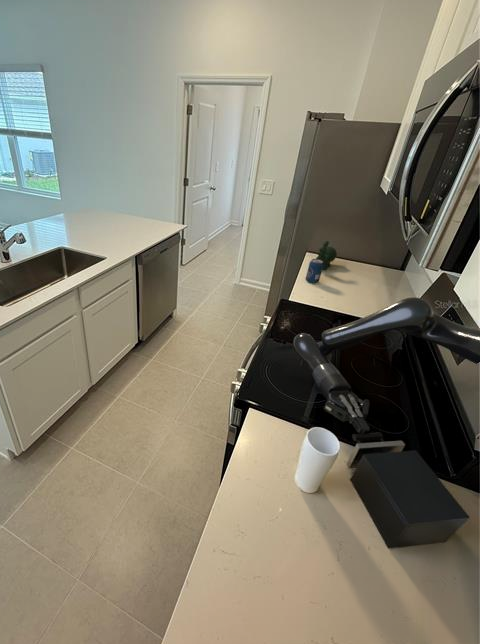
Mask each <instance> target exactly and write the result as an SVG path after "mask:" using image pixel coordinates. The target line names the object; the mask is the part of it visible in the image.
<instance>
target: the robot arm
mask: <svg viewBox="0 0 480 644" xmlns="http://www.w3.org/2000/svg"><path fill="white" fill-rule="evenodd" d="M479 329H480V328H477V327H472V326H466V325H462V324H459V323H456V322H454V321H453V320H450V319H448V318H446V317H444V316H441V315H439V314H437V313H436V312H434V311H433V308H432V306H431V305H430V303H429V302H428V301H426V300H425V299H423V298H421V297H415V296H414V297H413V296H411V297H406V298H403V299H401V300H399V301H396V302H394V303H392V304H390V305H388V306H387V307H384V308H381V309H380V310H378V311H376V312H374V313H371V314H369V315H367V316H364V317H361V318H359V319H356V320H354V321H350V322H348V323H346V324H345V323H344V324H341V325H338V326H336V327H335V326H334V327H332V328H329V329H326V330H323V331H322V333H321V340H320V341H318V342H317V341H316V340H315V338H314V337H313V336H312V335H311V334H309V333H307V332H301V333H298V334H296V335H295V336H294V338H293V339H292V347H293V349H294V350H295V352H296V354H297V355H298V356H299V357H300V359H301V360H302V361H303V362H304V364H305V366H306V367H307V370H308V371H309V373H310V374H311V376H312V378H313V381H314V382H315V384H316V386H317V387H318V388H319V390H320V392H321V394H322V395H323V397H324V398H325V400H326V401H325V403H324V406H323V410H324V411H325V412H327V413H328V414H330V415H332V416H333V417H334V418H336V419H338V420H340V421H341V422H343V423H346V422H349V424H351V425H352V426H353V427H354V429H355V431H356V432H357V434H361V433H370V431H371V427H370V425H369V424H368V423H367V421H366V418H367V417H368V415H369V410H370V400H369V399H367V398H364V400H363V399H361V398H359V396H358V395H357V394H355V393H354V391H353V388H352V386H351V385H350V383H349V382H348V381H347V380H346V378H345V377H344V375H343V374H342V373H341V372H340V371H339V369H338V368H337V367H336V366H335V365H334V364H333V363H332V361H331V360H330V359H329V357H328V356H329V355H330V354H332V353H333V352H335V351H340V350H344V349H346V348H350V347H353V346H355V345H358V344H361V343H362V342H365V341H367V340H368V339H370V338H372V337H375V336H377V335H379V334H382V333H386V332H389V331H392V330H393V331H394V330H401V331H402V332H404V333H406V334H408V335H411V336H414V337H416V338H418V339H419V338H420V339H422V340H425V341H427V342H430V343H433V344H434V345H438V346H440V347H443V348H445V349H447V350H449V351H451V352H452V353H454V354H456V355H457V356H460V357H461V358H464V359H465V360H467V361H469V362H471V363H473V364H474V365H477V363H479V362H480V330H479Z"/></svg>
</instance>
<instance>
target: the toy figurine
mask: <svg viewBox="0 0 480 644" xmlns="http://www.w3.org/2000/svg"><path fill="white" fill-rule="evenodd" d="M329 244H330V242H329V240H325V241H324V242H323V243H322V246H321V247H320V248H318V252H317V257H315V259H319V260H322V261H323V269H322V271H326V270H328V268H330V267H331V263H332V262H334V261H335V259H336V258H337V255H338V253H337V250H336V248H335V247H333V246H329Z"/></svg>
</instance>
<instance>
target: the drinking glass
mask: <svg viewBox="0 0 480 644" xmlns="http://www.w3.org/2000/svg"><path fill="white" fill-rule="evenodd" d="M340 451H341V443H340V441H339V439H338V437H337V436H336V435H335V434H334V433H333V432H332V431H330V430H328V429H326V428H324V427H319V426H316V427H315V426H314V427H311V428H310V429H308V430H307V432H306V434H305V436H304V439H303V441H302V444H301V448H300V453H299V456H298V457H299V458H298V461H297V466H296V471H295V473H294V481H295V484H296V486H297V487H298V489H300V491H303V492H304V493H307V494H313V493H315V492H317V491H318V490H319V488H320V486H321V484H322V482H323V481H324V479H325V478H326V476H327V475H328V473H329V472H330V471H331V469H332V468H333V466H334V464H335V462H336V461H337V458H338V456H339V453H340Z"/></svg>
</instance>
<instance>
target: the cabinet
mask: <svg viewBox="0 0 480 644" xmlns="http://www.w3.org/2000/svg"><path fill="white" fill-rule="evenodd" d="M349 480H350V482H351V484H352V486H353V488H354V490H355V491H356V493H357V495H358V497H359V498H360V501H361V502H362V504H363V507H364V508H365V509H366V511H367V514H368V515H369V517H370V519H371V520H372V522H373V524H374V526H375V528H376V530H377V531H378V533H379V535H380V537H381V539H382V540H383V542H384V544H385V546H386V547H387V550H389V549H398V548H407V547H417V546H425V545H434V544H443V543H447V542H448V541H449V540H450V538H451V537H452V536H453V535H454V534H456V532H457V531H458V530H459V529H460V528H461V527H462V526H463V525H464V524H465V523H466V522H467V521H468V520H469V519H470V516H469V515H468V513H467V512H466V511H465V509H464V508H463V507H462V506H461V504H460V502H458V501H457V499H456V498H455V497H454V495H452V493H451V492H450V491H449V489H447V487H446V486H445V485H444V484H443V482H442V481H441V480H440V479H439V477H438V476H437V474H435V472H434V471H433V470H432V469H431V467H430V466H429V464H427V461H425V460H424V459H423V458H422V456H421V455H420V453H419V452H418V451H417V450H415V449H414V450H404V451H403V450H402V451H401V452H388V453H374V454H363V457H362V458H361V460H360V462H359V464H358V466H357V467H356V468H354V471H353V473H352V475H351V477H350V478H349Z"/></svg>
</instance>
